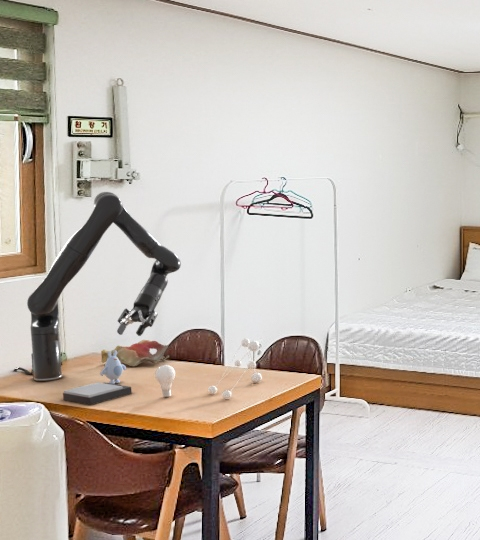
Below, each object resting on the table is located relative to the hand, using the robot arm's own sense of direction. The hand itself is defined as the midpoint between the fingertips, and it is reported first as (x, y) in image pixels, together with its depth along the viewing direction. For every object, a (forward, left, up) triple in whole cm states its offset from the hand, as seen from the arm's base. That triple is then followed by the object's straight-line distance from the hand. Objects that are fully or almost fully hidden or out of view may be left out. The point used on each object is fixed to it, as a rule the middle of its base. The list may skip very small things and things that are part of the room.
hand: (128, 334), depth 319 cm
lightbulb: (+35, -13, -17) cm, 41 cm away
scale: (+13, -23, -16) cm, 31 cm away
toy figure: (+2, -8, -17) cm, 19 cm away
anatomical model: (-19, +20, -17) cm, 32 cm away
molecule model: (+50, +5, -17) cm, 52 cm away
